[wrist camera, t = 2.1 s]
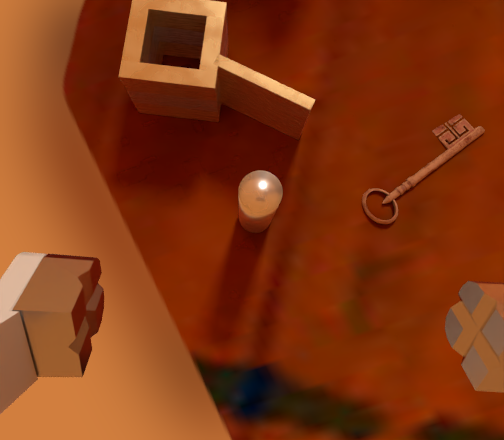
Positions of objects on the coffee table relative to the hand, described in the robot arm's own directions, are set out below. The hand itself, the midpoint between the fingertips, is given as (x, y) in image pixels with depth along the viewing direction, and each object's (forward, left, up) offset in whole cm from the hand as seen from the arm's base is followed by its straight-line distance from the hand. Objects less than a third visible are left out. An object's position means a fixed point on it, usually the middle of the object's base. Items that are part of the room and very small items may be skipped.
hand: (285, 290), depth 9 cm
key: (-6, -20, -30) cm, 37 cm away
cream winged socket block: (+16, -19, -30) cm, 39 cm away
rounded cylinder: (+4, -6, -30) cm, 31 cm away
